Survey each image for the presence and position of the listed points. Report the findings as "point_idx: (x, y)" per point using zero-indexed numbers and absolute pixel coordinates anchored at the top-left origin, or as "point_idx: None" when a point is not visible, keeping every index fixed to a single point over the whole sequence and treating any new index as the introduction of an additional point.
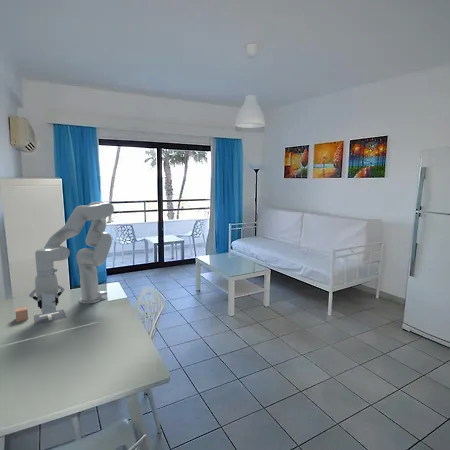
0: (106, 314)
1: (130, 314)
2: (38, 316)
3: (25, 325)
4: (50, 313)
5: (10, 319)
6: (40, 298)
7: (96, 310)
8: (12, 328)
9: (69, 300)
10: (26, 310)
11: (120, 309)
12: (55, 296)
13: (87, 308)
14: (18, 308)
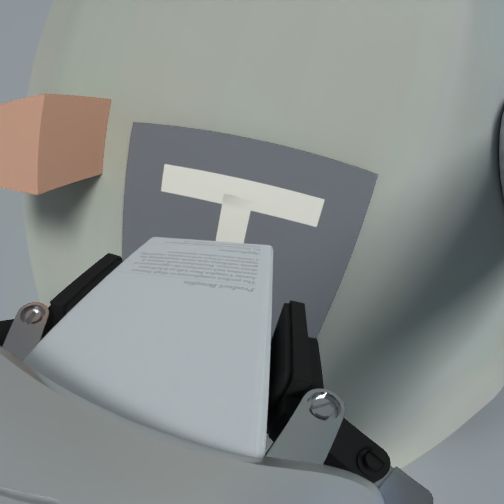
0: (435, 404)
1: (451, 430)
2: (156, 171)
3: (87, 247)
4: (253, 179)
5: (45, 82)
6: (58, 330)
7: (461, 347)
8: (44, 234)
9: (460, 17)
10: (39, 191)
11: (483, 388)
12: (277, 427)
13: (470, 286)
14: (6, 117)
